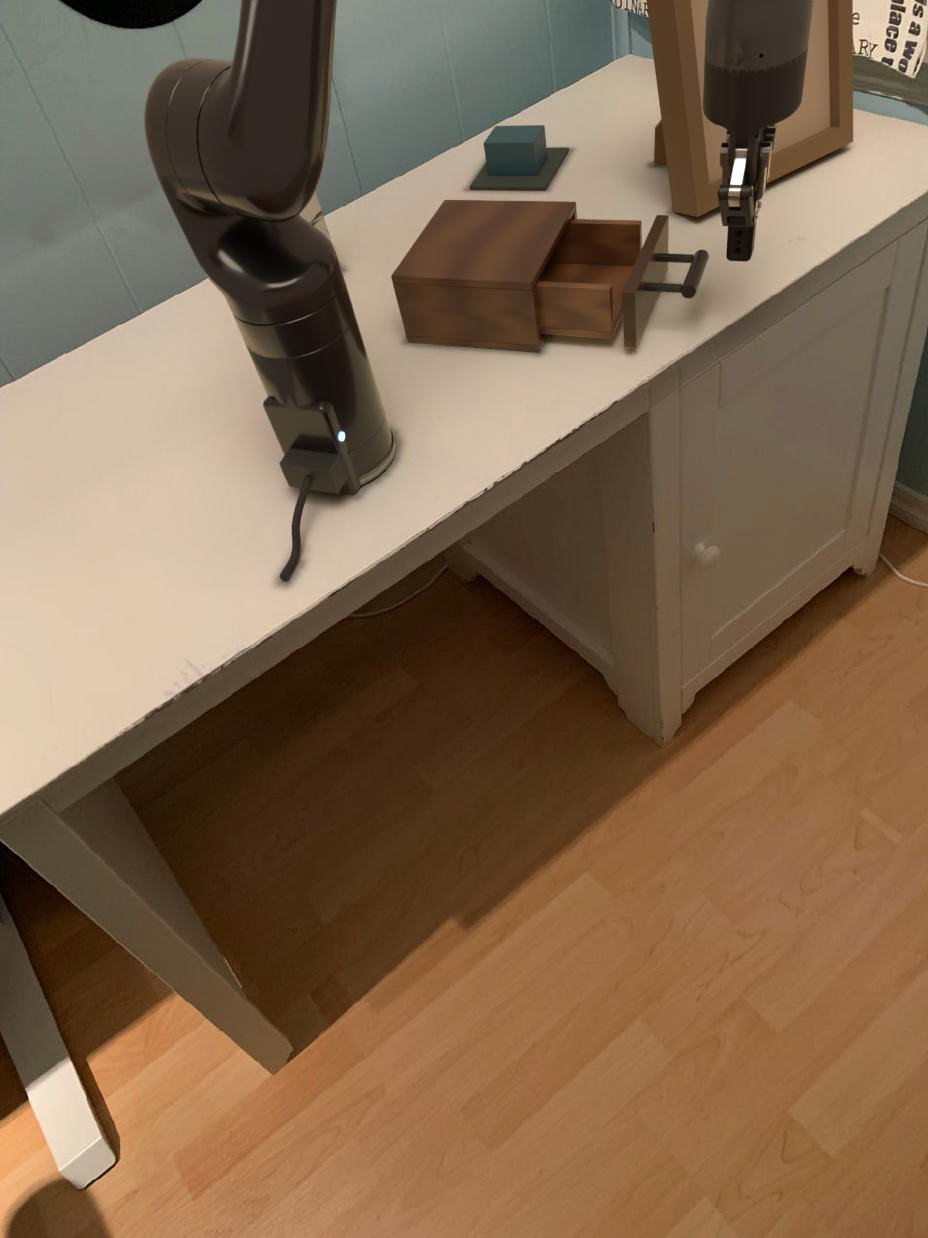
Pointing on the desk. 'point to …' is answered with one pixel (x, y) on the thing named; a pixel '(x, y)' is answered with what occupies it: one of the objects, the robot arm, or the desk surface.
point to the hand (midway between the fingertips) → (739, 256)
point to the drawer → (609, 278)
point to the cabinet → (480, 273)
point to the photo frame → (697, 141)
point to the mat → (522, 182)
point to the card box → (516, 150)
